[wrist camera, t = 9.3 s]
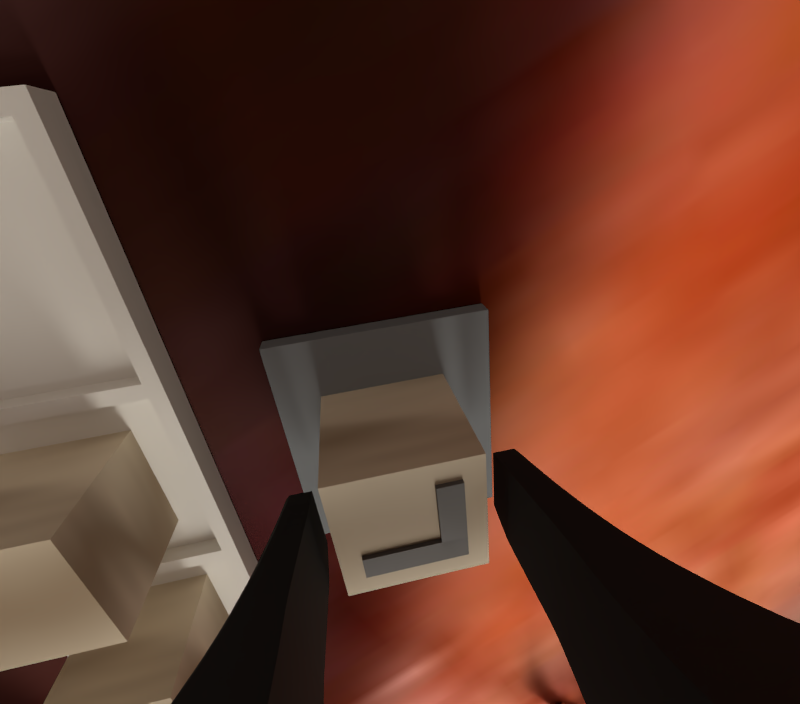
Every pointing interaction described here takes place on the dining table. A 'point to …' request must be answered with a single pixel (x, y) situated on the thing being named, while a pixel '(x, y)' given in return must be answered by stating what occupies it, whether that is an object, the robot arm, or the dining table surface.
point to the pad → (378, 374)
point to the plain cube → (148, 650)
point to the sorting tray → (95, 341)
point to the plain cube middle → (77, 546)
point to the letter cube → (402, 483)
